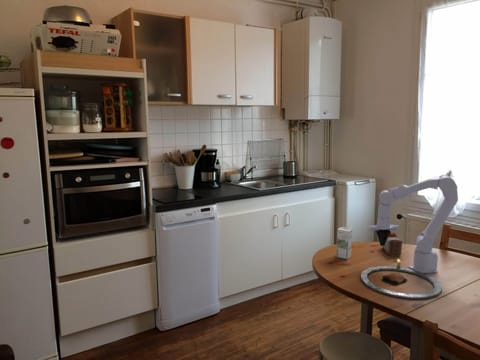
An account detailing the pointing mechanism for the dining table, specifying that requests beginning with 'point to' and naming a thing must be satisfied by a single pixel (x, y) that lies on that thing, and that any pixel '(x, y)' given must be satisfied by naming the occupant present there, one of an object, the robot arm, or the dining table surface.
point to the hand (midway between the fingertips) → (382, 245)
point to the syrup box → (344, 243)
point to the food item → (393, 245)
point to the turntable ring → (433, 293)
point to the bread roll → (394, 279)
